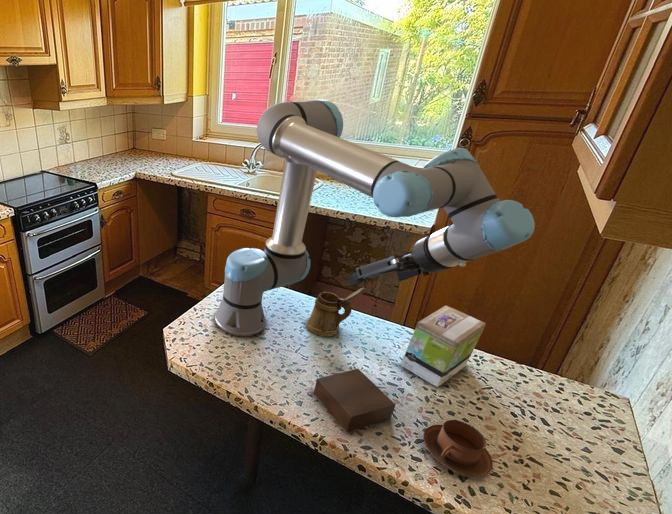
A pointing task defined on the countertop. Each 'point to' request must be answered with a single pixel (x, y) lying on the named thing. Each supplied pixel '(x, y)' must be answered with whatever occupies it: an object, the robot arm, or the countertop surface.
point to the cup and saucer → (459, 448)
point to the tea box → (442, 345)
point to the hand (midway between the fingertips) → (374, 278)
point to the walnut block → (353, 400)
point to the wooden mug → (330, 312)
